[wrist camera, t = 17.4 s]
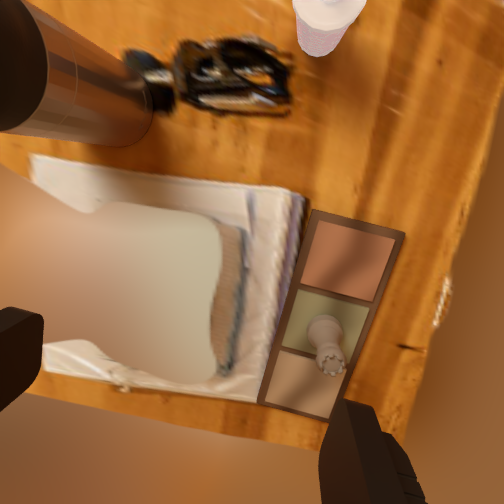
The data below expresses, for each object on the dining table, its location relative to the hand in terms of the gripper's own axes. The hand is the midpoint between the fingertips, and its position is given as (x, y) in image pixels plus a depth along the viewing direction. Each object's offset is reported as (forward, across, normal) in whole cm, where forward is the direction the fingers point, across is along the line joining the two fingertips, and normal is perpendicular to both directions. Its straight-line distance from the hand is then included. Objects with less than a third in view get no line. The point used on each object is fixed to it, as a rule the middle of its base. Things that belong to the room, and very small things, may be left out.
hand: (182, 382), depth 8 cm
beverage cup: (+32, -1, -20) cm, 38 cm away
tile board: (+32, -11, +12) cm, 36 cm away
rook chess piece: (+31, -11, +12) cm, 35 cm away
